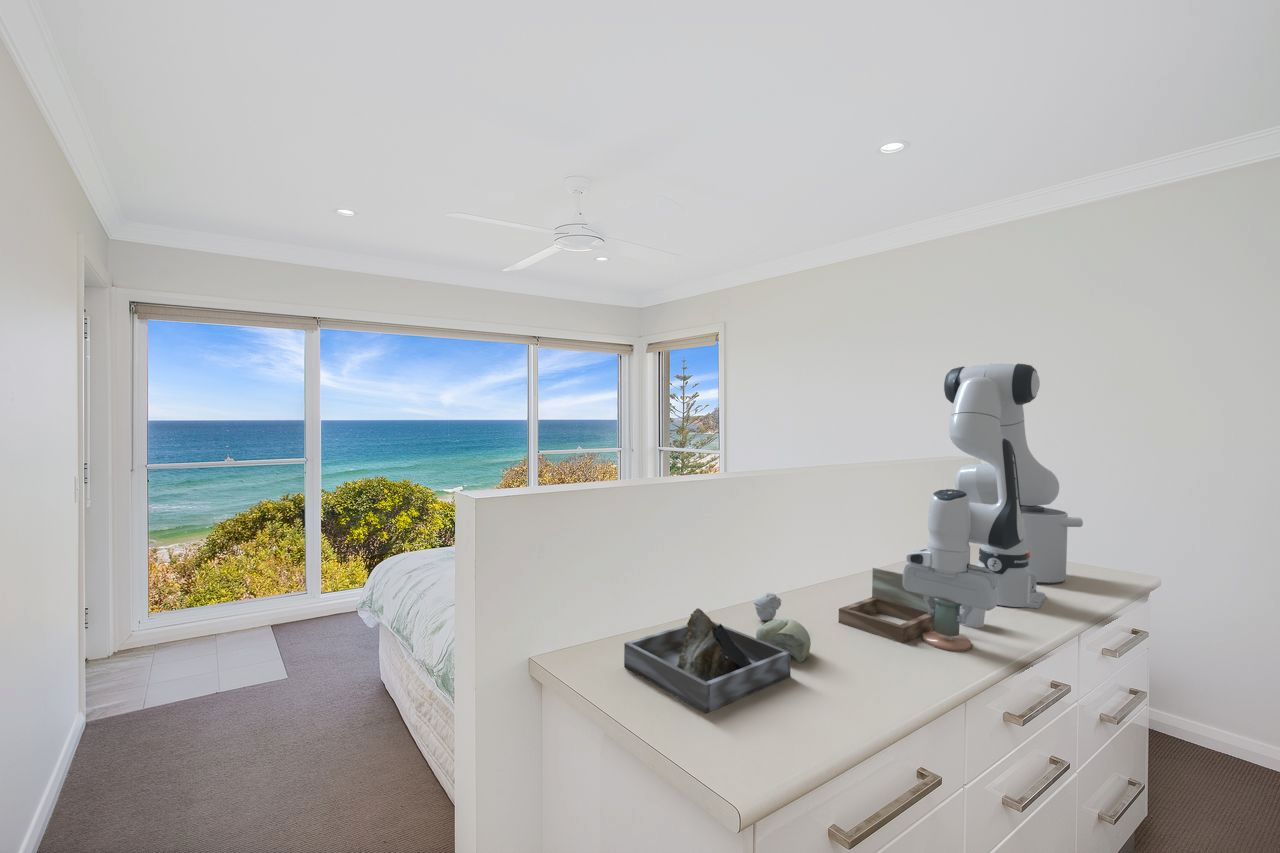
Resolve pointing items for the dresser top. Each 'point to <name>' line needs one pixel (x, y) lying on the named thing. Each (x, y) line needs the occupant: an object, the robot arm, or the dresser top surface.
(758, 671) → the display tray
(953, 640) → the pink round part
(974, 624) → the shot glass
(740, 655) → the mineral specimen
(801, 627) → the seashell
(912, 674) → the dresser top surface
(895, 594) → the frame
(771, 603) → the grey rock chunk
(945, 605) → the plant pot
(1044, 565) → the grey cooking pot
